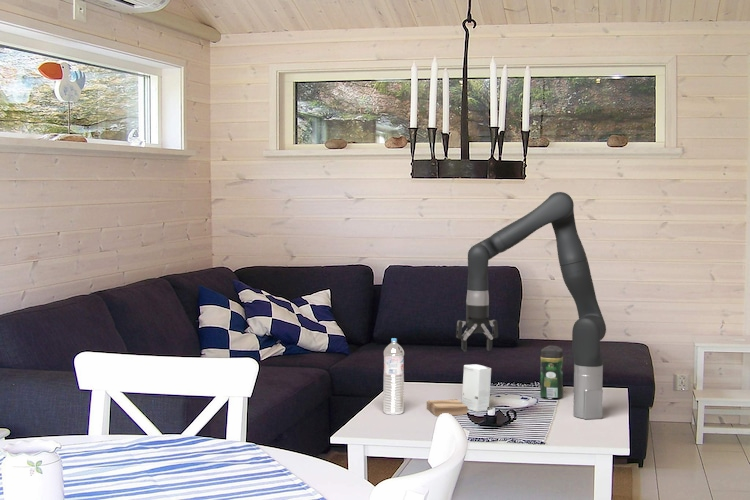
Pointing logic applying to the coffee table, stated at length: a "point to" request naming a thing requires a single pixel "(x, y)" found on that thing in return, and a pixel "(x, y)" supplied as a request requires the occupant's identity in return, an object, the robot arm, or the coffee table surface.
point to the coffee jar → (551, 372)
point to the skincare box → (476, 387)
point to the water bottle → (393, 379)
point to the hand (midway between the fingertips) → (476, 350)
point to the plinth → (446, 407)
